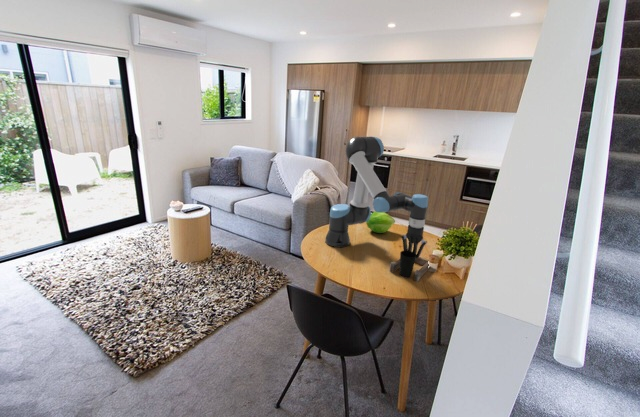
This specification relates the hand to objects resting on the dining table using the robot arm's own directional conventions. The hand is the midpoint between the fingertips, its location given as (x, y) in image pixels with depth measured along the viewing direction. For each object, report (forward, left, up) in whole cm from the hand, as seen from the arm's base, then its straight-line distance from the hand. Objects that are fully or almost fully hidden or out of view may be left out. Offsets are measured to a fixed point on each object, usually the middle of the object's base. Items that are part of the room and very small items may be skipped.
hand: (409, 268), depth 161 cm
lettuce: (-37, +39, -2) cm, 54 cm away
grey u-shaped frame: (0, +2, -2) cm, 3 cm away
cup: (0, -5, -2) cm, 6 cm away
